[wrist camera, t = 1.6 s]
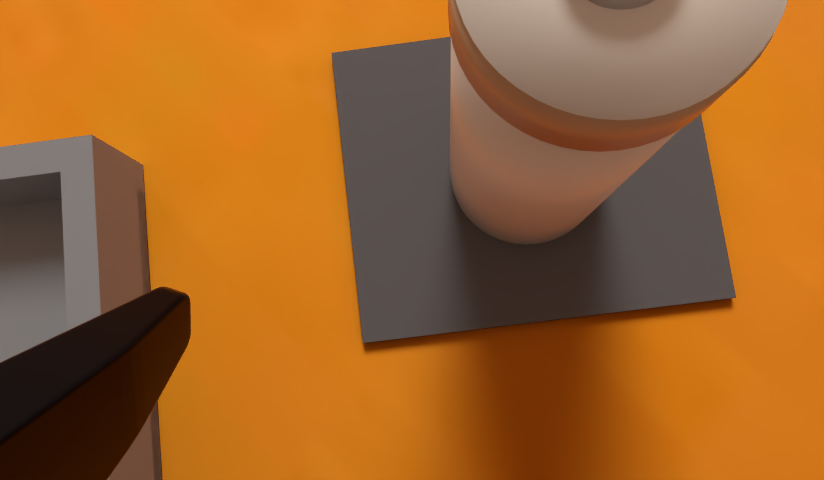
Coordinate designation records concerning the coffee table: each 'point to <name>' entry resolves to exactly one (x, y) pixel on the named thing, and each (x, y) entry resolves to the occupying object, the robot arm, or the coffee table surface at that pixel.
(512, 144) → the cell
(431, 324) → the mat
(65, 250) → the bin
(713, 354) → the coffee table surface
